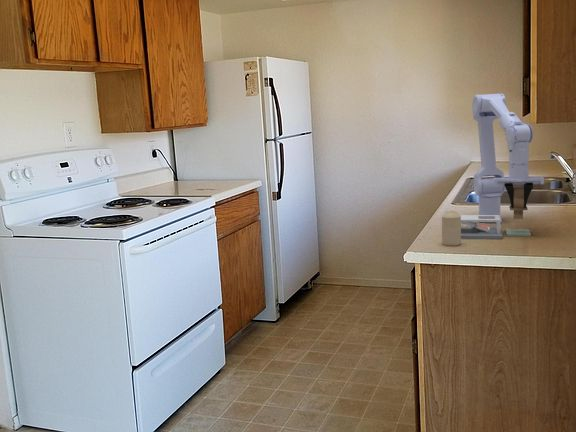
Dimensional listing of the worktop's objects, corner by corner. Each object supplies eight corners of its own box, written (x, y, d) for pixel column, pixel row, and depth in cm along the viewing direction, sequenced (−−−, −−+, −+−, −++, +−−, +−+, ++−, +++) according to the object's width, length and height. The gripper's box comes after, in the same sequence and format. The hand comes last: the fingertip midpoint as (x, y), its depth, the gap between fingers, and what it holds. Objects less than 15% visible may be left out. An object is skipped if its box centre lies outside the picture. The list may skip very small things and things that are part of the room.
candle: (441, 245, 183) (440, 213, 182) (443, 241, 188) (443, 209, 187) (459, 246, 181) (459, 213, 180) (461, 242, 186) (461, 209, 185)
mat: (505, 231, 198) (505, 229, 197) (528, 231, 195) (528, 229, 195) (506, 235, 191) (506, 233, 191) (530, 236, 189) (530, 234, 189)
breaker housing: (450, 229, 205) (450, 213, 204) (500, 229, 200) (500, 213, 199) (448, 238, 192) (448, 221, 191) (502, 239, 187) (502, 221, 186)
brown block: (509, 216, 195) (509, 187, 194) (526, 216, 194) (526, 186, 192) (510, 219, 191) (510, 189, 189) (527, 219, 189) (527, 189, 187)
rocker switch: (461, 220, 199) (462, 217, 198) (488, 229, 197) (489, 226, 196) (460, 223, 194) (462, 220, 194) (488, 232, 193) (489, 229, 192)
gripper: (494, 165, 188) (494, 209, 190) (545, 164, 183) (544, 209, 186) (493, 163, 194) (493, 205, 197) (542, 162, 190) (542, 205, 192)
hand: (518, 207), depth 192 cm, fingers closed on brown block, 3 cm apart
